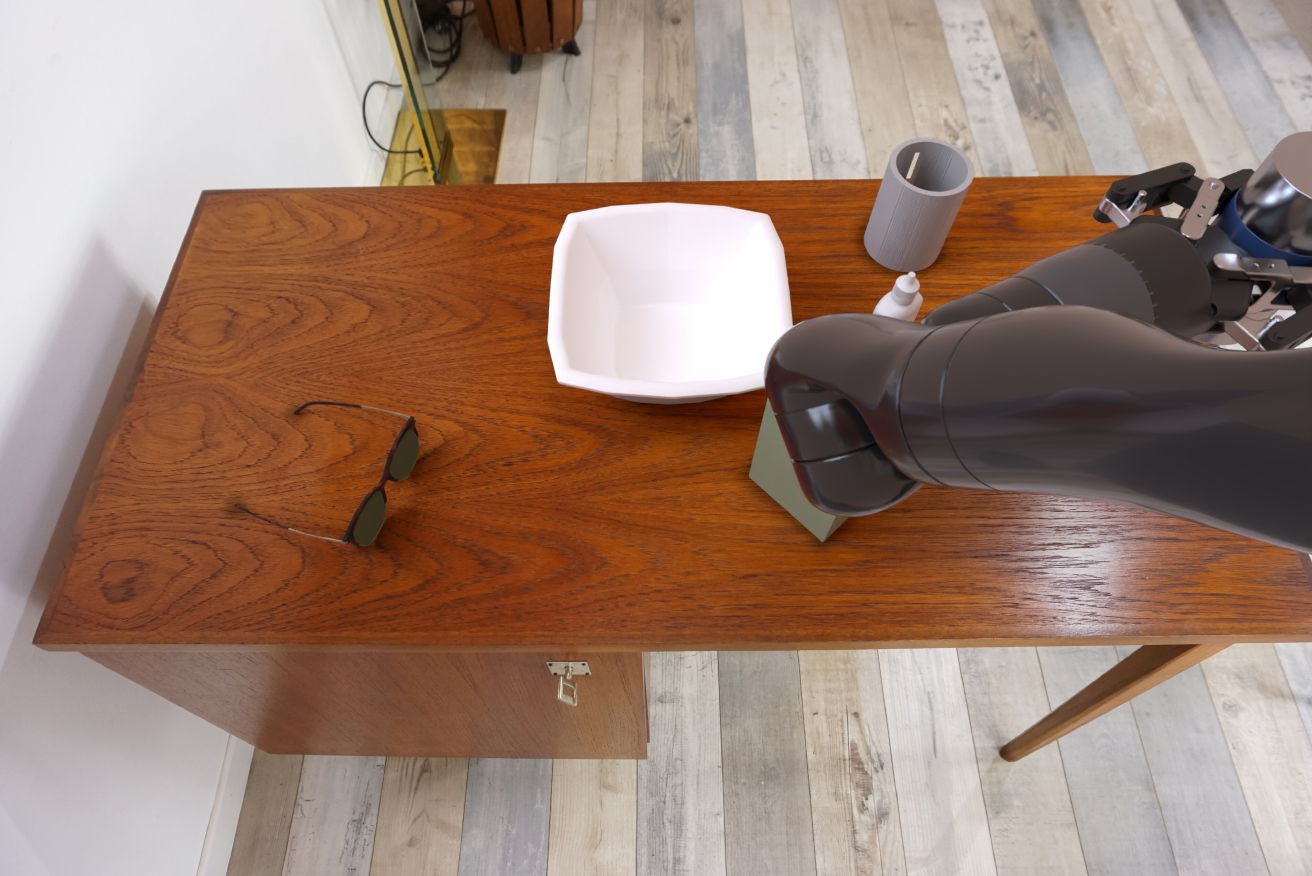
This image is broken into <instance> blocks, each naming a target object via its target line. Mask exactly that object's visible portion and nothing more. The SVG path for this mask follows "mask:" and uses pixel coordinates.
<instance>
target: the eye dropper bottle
mask: <svg viewBox="0 0 1312 876" xmlns="http://www.w3.org/2000/svg"><path fill="white" fill-rule="evenodd" d="M920 287H921V284H920V282H919V280H918V279H917V277H916V273H915V271H914V272H907V274H902V275H900V276H899V277H897V278H896V280H895V283H894V285H893V287H892V290H890V291H889V292H887V293H885V294H884V295H883V297H882V298H881V299H880V300H879V301H878V303H877V304H876V305H875V308H874V309H873V312H872V314H878V315H883V316H889V317H893V318H898V319H902V320H906V321H910V322H915V320H916V318H917V317H918V314H919V311H920V309H921V307H922V304H923V301H924V297H923V295H922V294H921V293H920V292H919V290H920Z"/></svg>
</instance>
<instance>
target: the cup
mask: <svg viewBox="0 0 1312 876" xmlns="http://www.w3.org/2000/svg"><path fill="white" fill-rule="evenodd" d="M917 153H918V156H917V159H916V161H915V164H914V167H913V170H912V172H911V176H910V177H909V181H907V178H908V177H907V176H908V174H909V172H910V168H911V166H912V163H913V160H914V159H915V158H914V157H915V155H916V154H917ZM974 177H975V168H974V164H973V162H972V159H971V158H970V157H969V156H968V154H967V153H966V152H964V150H962V149H961V148H960V147H958V146H957V145H955V144H953V143H951V142H948V141H946V140H943V139H939V138H935V137H914V138H910V139H908V140H905V141H903V142H900V144H898V145H897V146H896V147H895V148H893V150H892V152H891V154H890V156H889V159H888V162H887V166H886V169H885V172H884V175H883V177H882V181H881V183H880V187H879V189H878V191H877V195H876V199H875V200H874V204H873V207H872V210H871V213H870V217H869V219H868V223H867V225H866V228H865V232H864V235H863V245H864V247H865V250H866V252H867V253H868V255H869V256H870V257H871V258H872V259H873V261H875V262H876V263H877V264H879V265H880V266H882V267H884V268H886V269H889V270H892V271H895V272H899V273H900V272H901V273H909V272H914V273H915V272H919V271H923V270H925V269H927V268H929V267H931V266H932V265H933V264H934V263H935V262H936V260H937V259H938V257H939V255H940V253H941V251H942V248H943V246H944V244H945V242H946V239H947V237H948V235H949V233H950V230H951V229H952V226H953V224H954V222H955V220H956V218H957V215H958V213H959V211H960V209H961V207H962V205H963V202H964V201H965V198H966V196H967V193H968V191H969V190H970V187H971V185H972V183H973V181H974Z"/></svg>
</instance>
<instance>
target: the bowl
mask: <svg viewBox="0 0 1312 876" xmlns="http://www.w3.org/2000/svg"><path fill="white" fill-rule="evenodd" d="M784 247H785V246H784V245H783V242H782V241H781V239H780V236H779V234H778V232H777V230H776V227H775V225H774V223H773V221H772V219H771V217H770V215H769V214H767V213H763V212H757V211H752V210H747V209H741V208H736V207H731V206H726V205H713V204H699V203H697V204H696V203H683V202H655V203H654V202H653V203H638V204H621V205H619V204H618V205H610V206H604V207H599V208H594V209H587V210H582V211H577V212H571V213H569V214H568V215H567V216H566V218H565V221H564V223H563V225H562V227H561V229H560V232H559V234H558V237H557V239H556V242H555V244H554V247H553V257H552V269H551V277H550V278H551V279H550V288H549V289H550V291H549V309H548V326H547V327H548V328H547V345H548V350H549V354H550V357H551V361H552V364H553V368H554V369H553V370H554V372H555V373H554V374H555V377H556V381H557V383H558V384H559V385H562V386H565V387H571V388H576V389H581V390H585V391H590V392H595V393H599V394H604V395H609V396H611V397H613V398H616V399H620V400H625V401H628V402H629V401H630V402H635V403H643V404H656V405H679V404H694V403H702V402H707V401H712V400H717V399H722V398H725V397H727V396H731V395H733V396H734V395H740V394H745V393H749V392H754V391H757V390H762V389H765V385H764V377H763V371H764V364H765V361H766V357H767V355H768V353H769V351H770V349H771V347H772V345H773V344H774V343H775V341H776V340H777V339H778V338H779V337H780V336H781V335H782V334H783V333H784V332H786V331H787V330H788V329H790V328H791V327H793V326H794V324H793V313H792V312H793V311H792V304H791V293H790V286H789V285H790V284H789V278H788V270H787V263H786V257H785V256H786V255H785V248H784Z"/></svg>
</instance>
